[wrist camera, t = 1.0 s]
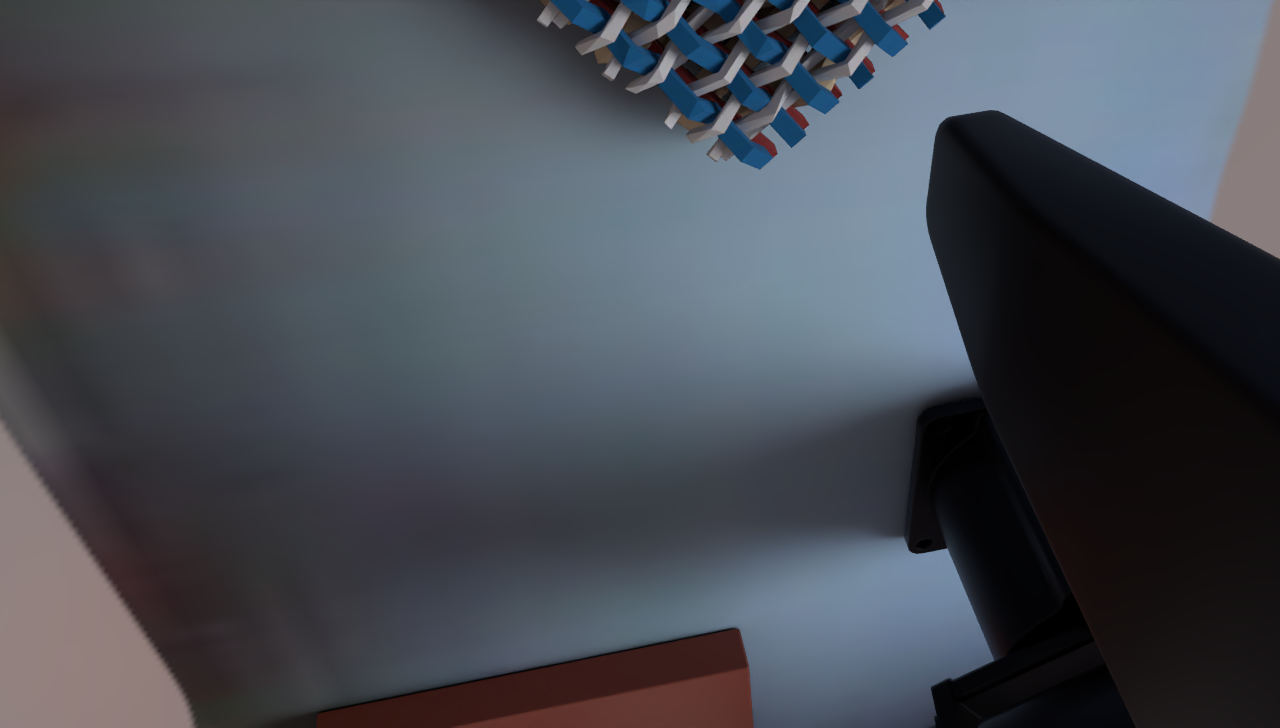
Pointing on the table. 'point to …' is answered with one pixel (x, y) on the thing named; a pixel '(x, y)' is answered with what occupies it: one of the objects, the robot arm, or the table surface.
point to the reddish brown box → (586, 693)
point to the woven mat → (741, 58)
